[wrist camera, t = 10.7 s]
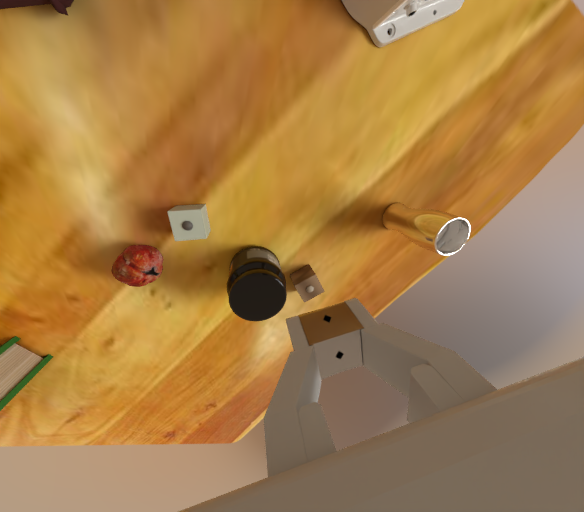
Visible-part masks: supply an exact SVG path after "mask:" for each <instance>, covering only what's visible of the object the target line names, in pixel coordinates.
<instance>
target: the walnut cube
mask: <svg viewBox="0 0 584 512" xmlns="http://www.w3.org/2000/svg"><path fill="white" fill-rule="evenodd" d="M290 277H291V279H292V281H293V284H294V286H295V288H296V290H297V291H298V293H299V294H300V296H301V298H302V299H303V301H304V302H306V301H308V300H310V299H312V298H314V297H315V296H317V295H319V294H321V293H323V292H324V289H323V288H322V286H321V284H320V282H319V280H318V278H317V276H316V274H315V273H314V271H313V270H312V268H311V267H310V265H309V264H308V265H307V266H305V267H303V268H301V269H299V270H298V271H296V272H294V273H292V274H290Z"/></svg>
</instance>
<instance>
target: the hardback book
mask: <svg viewBox="0 0 584 512" xmlns="http://www.w3.org/2000/svg"><path fill="white" fill-rule="evenodd" d="M19 340H20V338H18V337H16V336H15V337H14V338H12V339H10V340H9V341H7V342H6V343H4V344H3V345H1V346H0V411H1V410H2V409H3V408H4V407H5V406H6V404H7V403H8V402H9V401H10V400H11V399H12V398H13V397H14V396H15V395H16V394H17V393H18V392H19V391H20V390H21V389H22V388H23V387H24V386H25V385H26V384H27V383H28V382H29V381H30V380H31V379H32V378H33V377H34V376H35V375H36V374H37V373H38V372H39V371H40V370H41V369H42V368H43V367H44V366H45V365H46V364H47V363H48V362H49V361H50V360H51V359H52V358H53V356H51V355H47V356H46V357H44V358H42V357H40V356H38V355H36V354H34V353H32V352H30V351H28V350H27V349H25V348H23V347H21V346H19V345H17V344H15V343H16V342H17V341H19Z"/></svg>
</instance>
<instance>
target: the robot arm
mask: <svg viewBox="0 0 584 512" xmlns="http://www.w3.org/2000/svg"><path fill="white" fill-rule="evenodd" d="M342 2H343V4H344V6H345V8H346V9H347V11H348V12H349V14H350V15H351V16H352V17H353V18H354V19H355V20H356V21H357V22H358V23H360V24H361V25H362V26H363V27H365V28H366V30H367V31H368V33H369V35H370V37H371V39H372V40H373V42H374V44H375V45H376V46H378V47H383V46H385V45H387V44H389V43H392V42H394V41H396V40H398V39H400V38H402V37H405V36H407V35H409V34H411V33H413V32H416V31H418V30H420V29H422V28H424V27H426V26H429V25H431V24H433V23H435V22H437V21H440V20H442V19H444V18H446V17H448V16H450V15H452V14H454V13H455V12H456V11H458V10H459V9H460V8H461V6H462V4H463V2H464V0H342ZM387 31H389V33H390V35H388V33H387ZM286 323H287V327H288V330H289V334H290V338H291V342H292V345H293V349H294V351H293V352H290V354H289V357H288V359H287V362H286V364H285V367H284V369H283V372H282V374H281V377H280V379H279V382H278V384H277V387H276V389H275V392H274V394H273V396H272V399H271V401H270V404H269V406H268V409H267V411H266V414H265V416H264V427H265V428H264V429H265V442H266V455H267V469H268V478H265V479H263V480H260V481H258V482H255V483H252V484H250V485H247V486H245V487H242V488H239V489H237V490H234V491H231V492H229V493H226V494H224V495H221V496H218V497H216V498H213V499H211V500H208V501H205V502H202V503H200V504H197V505H195V506H192V507H190V508H187V509H184V510H182V511H179V512H584V357H582V358H579V359H577V360H574V361H572V362H569V363H566V364H564V365H561V366H559V367H556V368H553V369H551V370H548V371H546V372H543V373H540V374H538V375H535V376H532V377H530V378H527V379H525V380H522V381H519V382H517V383H514V384H511V385H509V386H506V387H504V388H501V389H498V390H497V389H496V388H495V387H494V386H493V385H492V384H491V383H489V382H488V381H487V380H486V379H485V378H484V377H483V376H482V375H481V374H479V373H478V372H477V371H476V370H475V369H474V368H473V367H472V366H470V365H469V364H468V363H467V362H466V361H465V360H464V359H463V358H461V357H460V356H459V355H458V354H457V353H456V352H454V351H452V350H450V349H447V348H445V347H442V346H440V345H437V344H434V343H432V342H429V341H427V340H424V339H422V338H419V337H417V336H414V335H412V334H409V333H407V332H404V331H402V330H399V329H397V328H394V327H392V326H389V325H387V324H384V323H380V324H378V323H377V321H376V320H375V319H374V318H373V317H372V316H371V314H370V313H369V312H368V311H367V310H366V308H365V307H364V306H363V305H362V304H361V303H360V301H359V300H358V299H357V298H353V299H350V300H347V301H344V302H341V303H338V304H335V305H332V306H328V307H325V308H322V309H319V310H315V311H311V312H308V313H304V314H301V315H298V316H294V317H291V318H287V319H286ZM362 365H364V367H366V368H367V369H368V370H370V371H371V372H372V373H374V374H375V375H377V376H378V377H380V378H381V379H382V380H384V381H385V382H387V383H388V384H389V385H391V386H392V387H394V388H395V389H397V390H398V391H399V392H401V393H402V394H404V395H405V396H407V397H408V398H409V401H408V414H407V420H408V422H409V424H407V425H404V426H401V427H399V428H396V429H393V430H391V431H389V432H386V433H383V434H380V435H378V436H375V437H372V438H370V439H367V440H365V441H362V442H360V443H357V444H354V445H352V446H349V447H347V448H344V449H341V450H339V451H336V448H335V446H334V442H333V439H332V436H331V433H330V430H329V427H328V425H327V421H326V418H325V415H324V412H323V409H322V406H321V405H320V404H318V398H319V392H320V387H321V380H322V379H324V378H326V377H329V376H332V375H335V374H337V373H340V372H343V371H346V370H349V369H353V368H356V367H359V366H362Z"/></svg>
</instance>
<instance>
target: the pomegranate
mask: <svg viewBox="0 0 584 512" xmlns="http://www.w3.org/2000/svg"><path fill="white" fill-rule="evenodd" d="M162 263H163V256H162V255H161V253H160V252H159V251H158V250H157V249H156V248H154V247H152V246H147V245H138V246H136V245H132V246H129V247H128V248H126V249H125V251H124V252H123V253H121V254H120V255H119V256H118V258H117V259H116V261H115V263H114V264H113V266H112V273H113V275H114V277H115V278H116V279H117V280H119V281H121V282H123V283H125V284H128V285H129V286H136V287H140V286H144V285H146V284H148V283H151V282H153V281H155V280H156V279H157V278H158V277H159V276H160V275H161V273H162V270H163V266H162Z"/></svg>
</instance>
